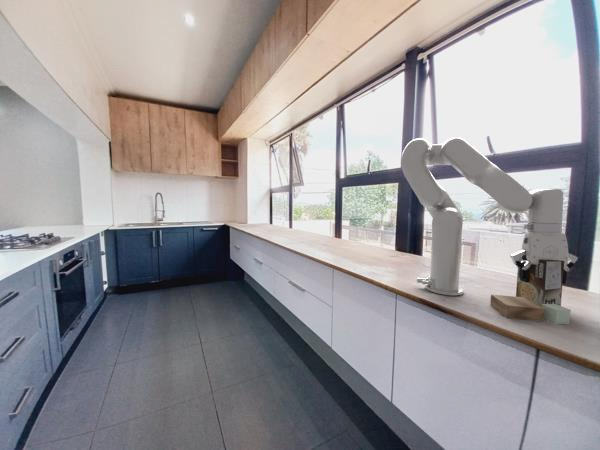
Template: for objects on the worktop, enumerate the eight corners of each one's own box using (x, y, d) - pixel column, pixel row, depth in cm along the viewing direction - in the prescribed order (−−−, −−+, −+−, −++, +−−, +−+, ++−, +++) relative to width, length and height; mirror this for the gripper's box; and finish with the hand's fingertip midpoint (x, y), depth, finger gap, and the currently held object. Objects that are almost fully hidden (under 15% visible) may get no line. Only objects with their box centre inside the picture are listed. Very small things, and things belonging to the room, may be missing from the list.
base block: (505, 318, 70) (506, 305, 70) (490, 306, 79) (491, 294, 78) (543, 322, 68) (544, 308, 68) (523, 309, 77) (524, 297, 76)
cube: (555, 324, 67) (557, 310, 66) (540, 317, 71) (541, 304, 70) (569, 323, 67) (570, 309, 67) (553, 317, 71) (554, 303, 70)
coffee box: (562, 312, 74) (566, 260, 73) (542, 313, 73) (547, 261, 72) (530, 301, 83) (534, 254, 82) (513, 301, 82) (517, 255, 81)
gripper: (520, 229, 74) (518, 284, 75) (589, 229, 71) (586, 287, 72) (505, 227, 81) (503, 277, 82) (567, 227, 78) (564, 279, 79)
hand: (541, 281), depth 77 cm, fingers open, 9 cm apart
